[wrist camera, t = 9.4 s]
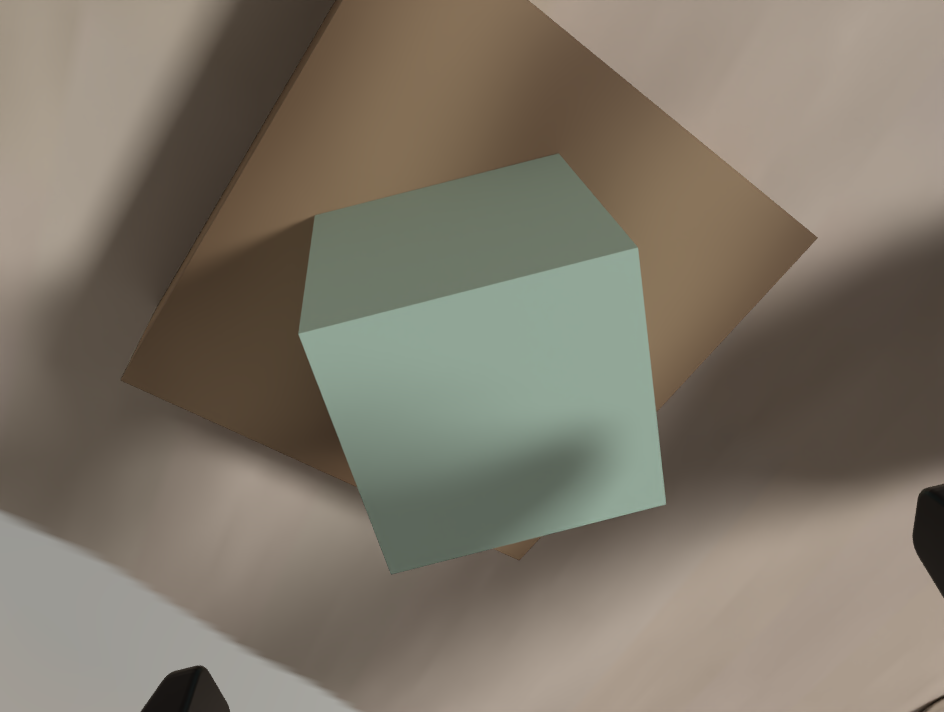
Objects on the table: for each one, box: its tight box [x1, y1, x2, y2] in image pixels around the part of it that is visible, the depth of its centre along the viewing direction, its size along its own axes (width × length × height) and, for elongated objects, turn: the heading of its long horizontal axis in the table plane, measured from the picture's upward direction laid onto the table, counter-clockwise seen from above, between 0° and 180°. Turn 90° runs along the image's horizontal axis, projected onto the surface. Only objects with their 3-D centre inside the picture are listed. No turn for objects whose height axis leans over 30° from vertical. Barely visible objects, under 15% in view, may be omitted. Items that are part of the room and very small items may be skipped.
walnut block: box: [121, 0, 818, 560], centre depth 18 cm, size 11×11×4 cm
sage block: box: [298, 153, 666, 574], centre depth 14 cm, size 5×5×5 cm
